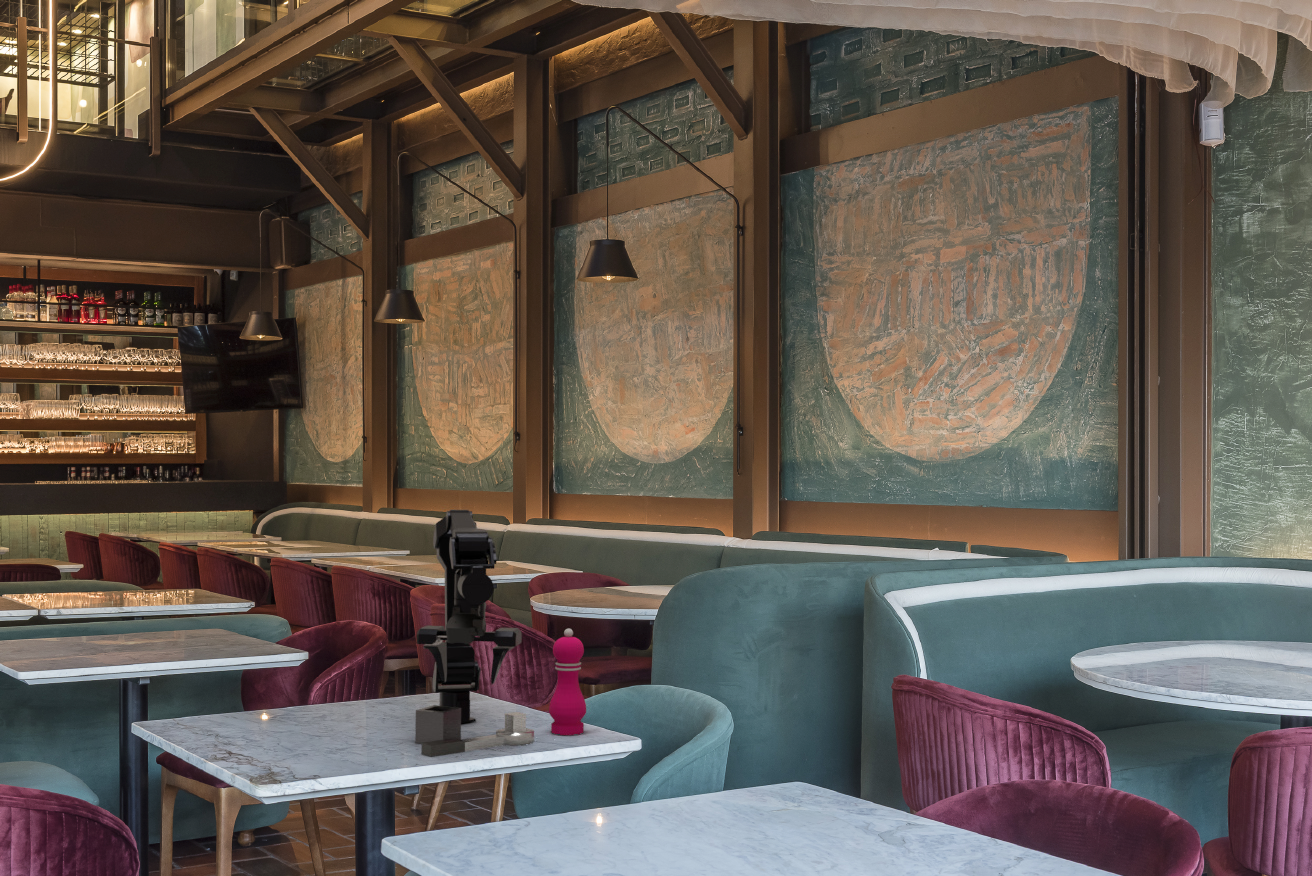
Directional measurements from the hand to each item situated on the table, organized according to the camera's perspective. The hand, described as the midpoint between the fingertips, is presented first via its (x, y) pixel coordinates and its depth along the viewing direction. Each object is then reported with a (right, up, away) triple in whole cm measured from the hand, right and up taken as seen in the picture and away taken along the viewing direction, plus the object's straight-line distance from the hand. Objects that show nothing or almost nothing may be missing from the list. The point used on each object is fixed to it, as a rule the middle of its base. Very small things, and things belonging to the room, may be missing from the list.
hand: (468, 682), depth 236 cm
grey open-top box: (-6, -11, 0) cm, 12 cm away
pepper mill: (+18, -12, +10) cm, 23 cm away
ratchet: (+3, -11, -5) cm, 12 cm away
